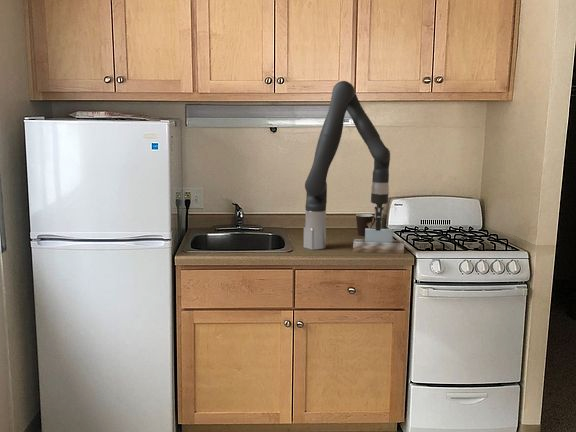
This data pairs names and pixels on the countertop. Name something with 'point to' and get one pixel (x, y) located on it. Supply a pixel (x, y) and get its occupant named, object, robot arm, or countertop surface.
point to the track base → (378, 246)
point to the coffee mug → (364, 223)
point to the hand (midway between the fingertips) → (378, 228)
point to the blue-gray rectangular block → (379, 235)
